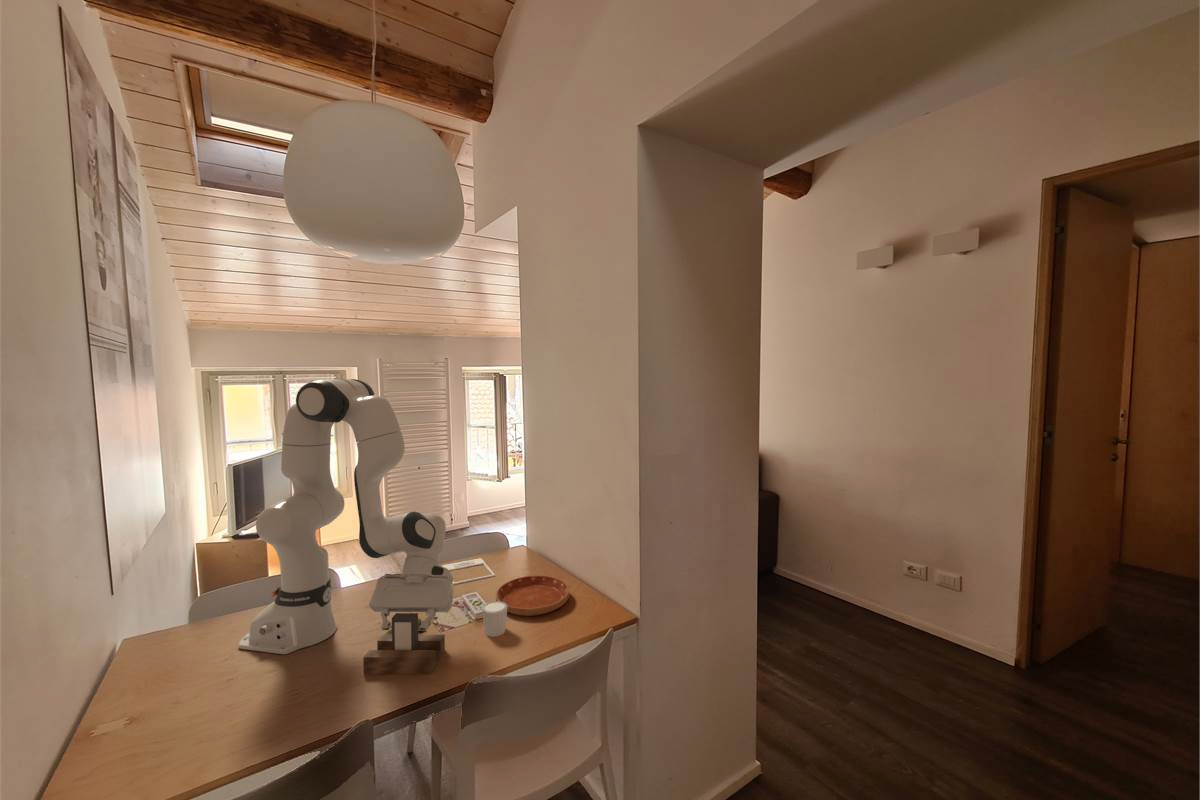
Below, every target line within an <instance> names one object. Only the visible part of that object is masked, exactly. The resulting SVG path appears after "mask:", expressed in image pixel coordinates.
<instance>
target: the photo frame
mask: <svg viewBox="0 0 1200 800" xmlns="http://www.w3.org/2000/svg"><path fill="white" fill-rule="evenodd" d="M481 565H483V566H484V567H485V568H486V570H487V571H488V572H489V573H490V574H489V575H484V576H479V577H475V578H469V579H464V580H459V581H456V582H455V581H454V580H453V583H452V584H451V585H452V586H455V585H460V584H464V583H465V584H466V583H469V582H473V581H478V580H484V579H488V578H493V577H496V574H495V573H494V571H493V570H491V568H490V567H489V566H488V564H486V562H485V561H484V560H483V558H481V557H479V558H475V559H468V560H464V561H463V560H462V561H459V562H454V563H452V562H451V563H448V564H442V565H441V567H444V568H447V569H448V570H449V571H450V572H451V571H456V570H462V569H467V568H470V567H471V568H473V567H476V566H481Z"/></svg>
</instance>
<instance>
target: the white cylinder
mask: <svg viewBox="0 0 1200 800" xmlns="http://www.w3.org/2000/svg"><path fill="white" fill-rule="evenodd" d="M481 610H482V611H481V612H482V619H483V621H482V622H483V628H484V629H483V631H484V635H486V636H488V637H492V638H495V637H500V636H501V635H504V633H505V632H506V626H507V618H508V617H507V615H508V614H507V613H508V612H507V604H506V603H504V602H501V601H496V600H495V601H490V602H486V603H485V604H484V605H483V606H482V607H481Z"/></svg>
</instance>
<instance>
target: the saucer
mask: <svg viewBox="0 0 1200 800" xmlns="http://www.w3.org/2000/svg"><path fill="white" fill-rule="evenodd" d="M569 597H570V587H569V586H568V584H567V583H566V581H564V580H563V579H560V578H558V577H554V576H549V575H528V576H522V577H516V578H514V579H511V580H509V581H506V582H505V583H503V584H502V585H501V586H499V587H498V589H497V590H496V592H495V601H501V602H504V603H506V604H507V613H510V614H513V615H516V616H522V617H523V616H524V617H531V616H532V617H535V616H541V615H545V614H547V613H551V612H553V611H555V610H557V609H559V608H561V607H562V606H564V604H565V603H566V602H567V601H568V599H569Z"/></svg>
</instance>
